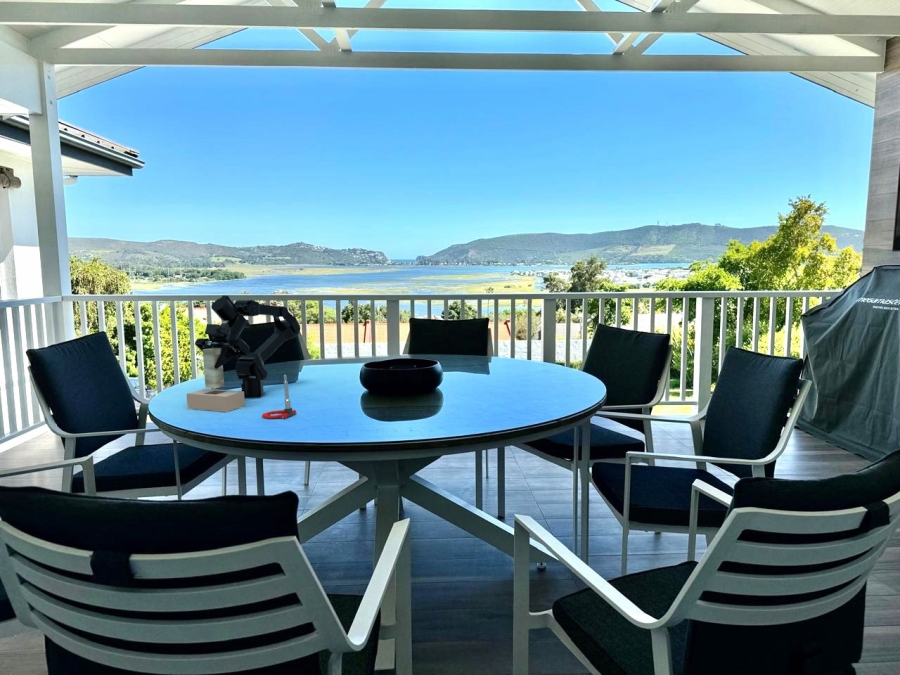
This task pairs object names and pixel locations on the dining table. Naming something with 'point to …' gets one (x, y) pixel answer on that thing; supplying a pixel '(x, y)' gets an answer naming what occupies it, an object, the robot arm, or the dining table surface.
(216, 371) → the birch bar
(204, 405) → the flat beige box
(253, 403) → the dining table surface
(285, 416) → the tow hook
